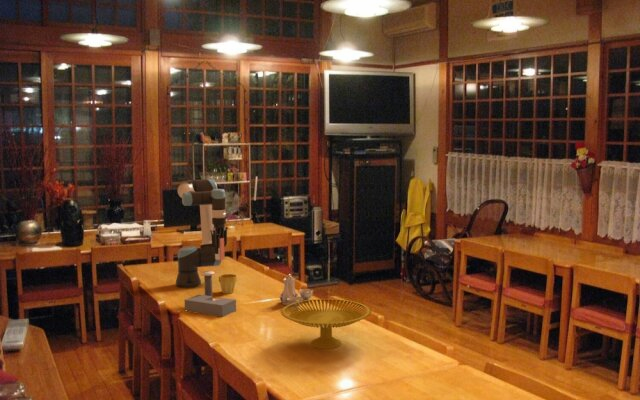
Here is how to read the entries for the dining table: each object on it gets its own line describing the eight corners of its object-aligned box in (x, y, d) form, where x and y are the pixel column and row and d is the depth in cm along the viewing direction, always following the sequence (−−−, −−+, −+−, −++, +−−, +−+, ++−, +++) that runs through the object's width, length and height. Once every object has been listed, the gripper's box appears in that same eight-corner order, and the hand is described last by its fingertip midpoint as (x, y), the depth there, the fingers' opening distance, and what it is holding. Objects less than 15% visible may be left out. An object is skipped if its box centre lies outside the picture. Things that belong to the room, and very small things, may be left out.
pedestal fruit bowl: (319, 323, 318) (319, 293, 317) (389, 340, 293) (389, 308, 291) (261, 345, 287) (260, 312, 286) (333, 366, 262) (333, 330, 260)
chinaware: (302, 314, 340) (305, 283, 338) (271, 309, 344) (274, 278, 342) (314, 300, 368) (317, 271, 365) (286, 295, 371) (288, 267, 369)
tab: (215, 259, 364) (215, 238, 363) (219, 258, 367) (218, 237, 366) (220, 260, 363) (220, 239, 361) (224, 259, 366) (223, 238, 364)
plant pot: (238, 290, 385) (238, 273, 383) (234, 294, 374) (234, 277, 373) (221, 289, 386) (221, 273, 384) (217, 294, 375) (216, 277, 374)
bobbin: (195, 304, 355) (194, 273, 353) (206, 299, 364) (206, 269, 362) (210, 306, 350) (209, 275, 348) (221, 301, 359) (220, 271, 357)
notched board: (184, 311, 342) (184, 299, 341) (199, 305, 353) (198, 294, 352) (222, 316, 331) (222, 305, 330) (236, 310, 342) (235, 299, 341)
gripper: (215, 219, 353) (216, 262, 356) (233, 215, 368) (233, 256, 371) (204, 218, 356) (205, 260, 359) (221, 214, 371) (222, 255, 374)
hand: (219, 258), depth 365 cm, fingers closed on tab, 3 cm apart
